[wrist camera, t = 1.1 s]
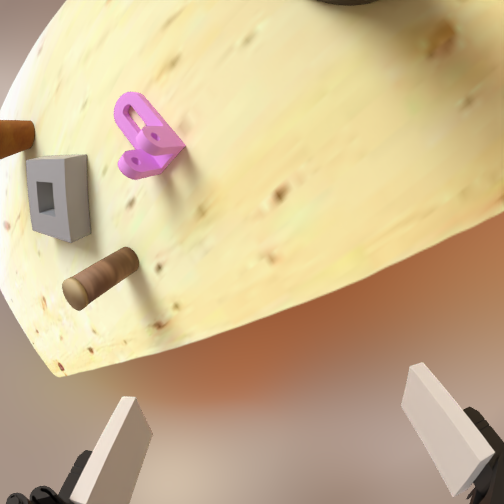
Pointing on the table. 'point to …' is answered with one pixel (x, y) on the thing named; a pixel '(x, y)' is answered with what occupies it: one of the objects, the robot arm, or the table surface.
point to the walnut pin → (99, 277)
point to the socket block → (59, 196)
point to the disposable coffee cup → (15, 136)
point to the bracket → (145, 138)
